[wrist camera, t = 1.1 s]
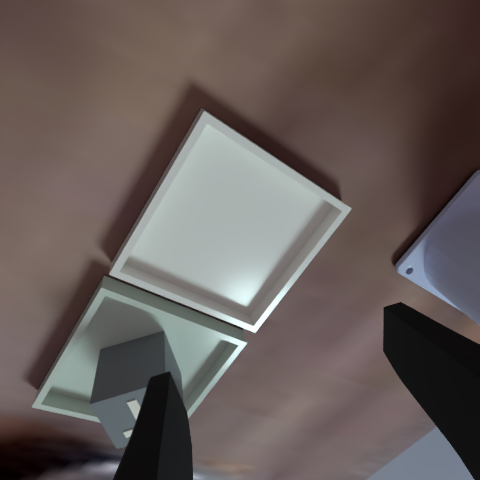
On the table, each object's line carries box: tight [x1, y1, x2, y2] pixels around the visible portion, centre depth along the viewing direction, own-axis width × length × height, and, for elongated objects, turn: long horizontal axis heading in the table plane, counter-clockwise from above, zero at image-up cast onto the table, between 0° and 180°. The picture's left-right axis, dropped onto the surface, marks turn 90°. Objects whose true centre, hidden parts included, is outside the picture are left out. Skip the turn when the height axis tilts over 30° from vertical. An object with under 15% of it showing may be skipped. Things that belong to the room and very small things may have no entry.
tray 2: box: [32, 276, 247, 423], centre depth 23 cm, size 10×10×1 cm
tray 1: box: [109, 108, 351, 333], centre depth 20 cm, size 10×10×1 cm
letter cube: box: [89, 331, 184, 449], centre depth 21 cm, size 4×4×4 cm
